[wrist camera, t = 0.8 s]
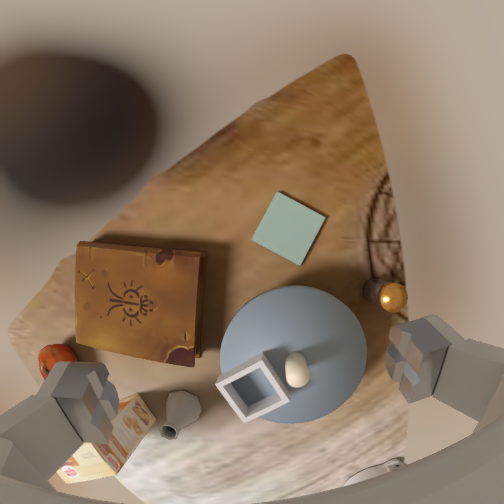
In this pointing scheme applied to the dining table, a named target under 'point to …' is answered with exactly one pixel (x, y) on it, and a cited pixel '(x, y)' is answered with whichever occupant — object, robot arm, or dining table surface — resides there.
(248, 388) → the dial
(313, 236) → the mat
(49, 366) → the tomato
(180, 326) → the diary
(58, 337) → the dining table surface
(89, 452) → the coffeecake box
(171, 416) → the flask
